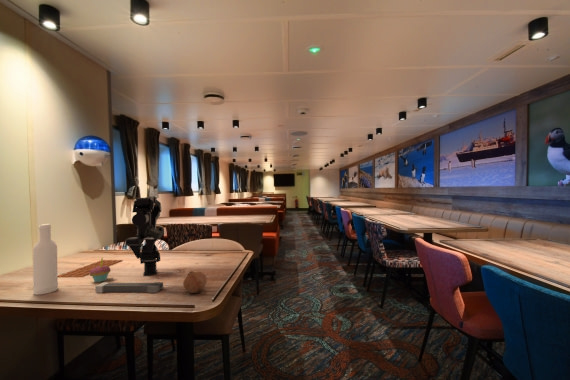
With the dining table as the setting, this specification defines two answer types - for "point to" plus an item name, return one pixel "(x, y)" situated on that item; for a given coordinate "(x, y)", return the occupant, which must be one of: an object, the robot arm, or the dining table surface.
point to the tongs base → (127, 288)
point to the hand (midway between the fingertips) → (144, 255)
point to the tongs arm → (143, 283)
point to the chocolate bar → (88, 269)
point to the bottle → (45, 262)
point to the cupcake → (100, 272)
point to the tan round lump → (195, 282)
